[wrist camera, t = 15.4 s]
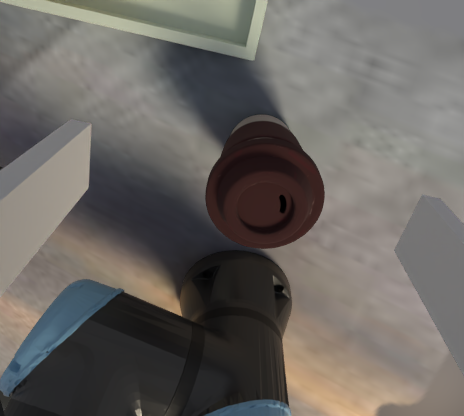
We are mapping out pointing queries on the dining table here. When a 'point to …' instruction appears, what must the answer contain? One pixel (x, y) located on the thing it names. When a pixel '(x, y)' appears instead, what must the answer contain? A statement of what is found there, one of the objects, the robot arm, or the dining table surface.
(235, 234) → the coffee cup
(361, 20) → the dining table surface
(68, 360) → the robot arm
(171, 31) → the sage tray
